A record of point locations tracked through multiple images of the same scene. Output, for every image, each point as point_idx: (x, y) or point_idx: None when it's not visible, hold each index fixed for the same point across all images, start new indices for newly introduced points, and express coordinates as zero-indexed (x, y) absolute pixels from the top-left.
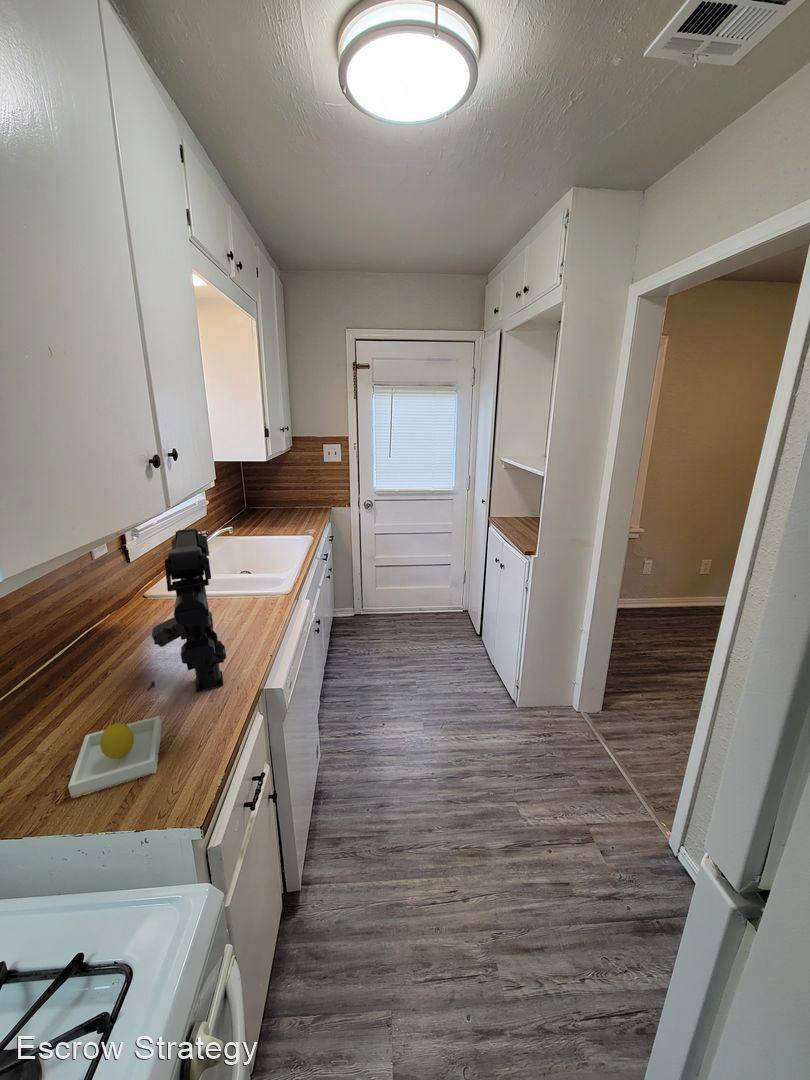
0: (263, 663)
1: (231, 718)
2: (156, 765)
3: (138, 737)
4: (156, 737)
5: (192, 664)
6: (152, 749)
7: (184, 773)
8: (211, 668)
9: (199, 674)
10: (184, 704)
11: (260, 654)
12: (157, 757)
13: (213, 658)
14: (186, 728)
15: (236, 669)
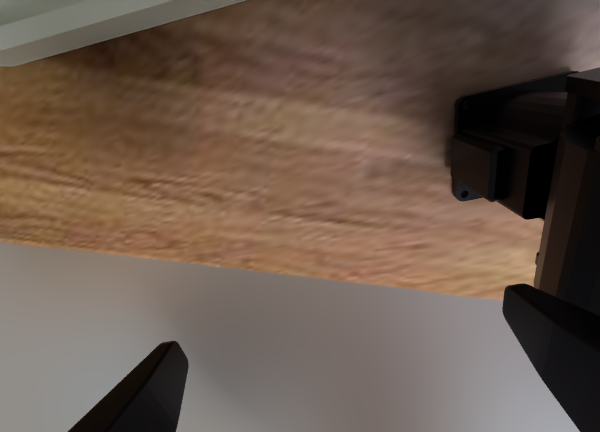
0: None
1: (262, 248)
2: (26, 59)
3: None
4: (86, 24)
5: (559, 138)
6: (14, 31)
7: (33, 162)
8: (517, 206)
9: (109, 399)
10: (388, 64)
11: None
12: (66, 48)
13: (539, 275)
14: (233, 114)
15: None
